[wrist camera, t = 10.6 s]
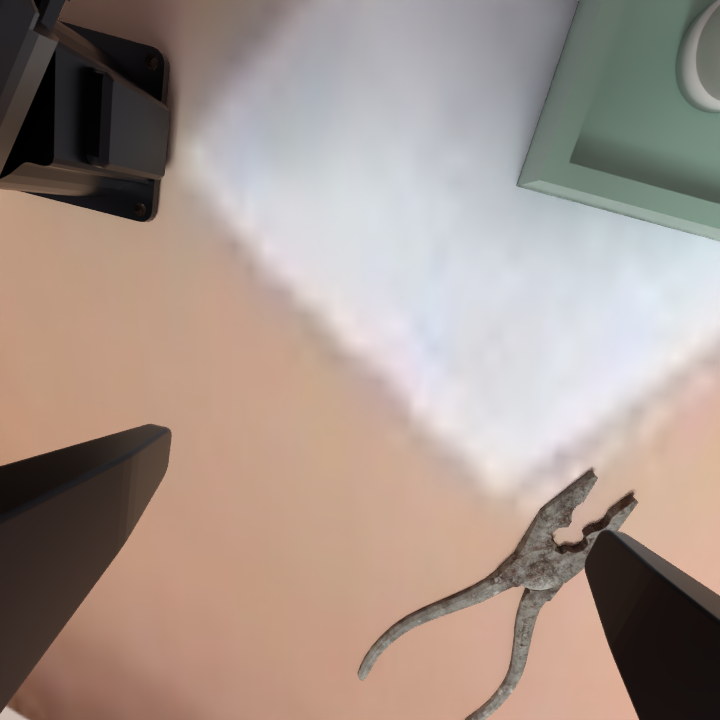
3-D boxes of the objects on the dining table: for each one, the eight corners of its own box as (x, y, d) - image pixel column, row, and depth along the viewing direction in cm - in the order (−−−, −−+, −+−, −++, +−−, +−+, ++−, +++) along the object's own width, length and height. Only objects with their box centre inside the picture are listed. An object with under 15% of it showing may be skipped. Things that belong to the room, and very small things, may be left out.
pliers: (347, 698, 27) (473, 437, 21) (348, 684, 28) (469, 429, 22) (486, 736, 28) (647, 494, 22) (483, 721, 28) (637, 484, 22)
